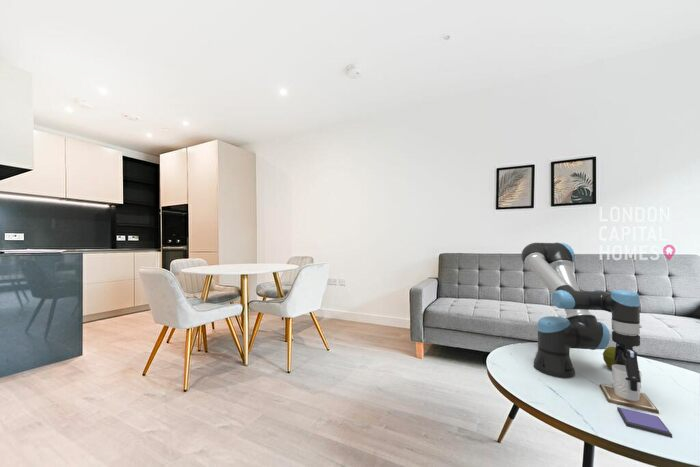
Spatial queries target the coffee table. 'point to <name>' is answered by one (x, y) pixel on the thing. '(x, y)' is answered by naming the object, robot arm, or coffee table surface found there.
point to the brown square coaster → (642, 404)
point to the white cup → (622, 381)
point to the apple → (609, 356)
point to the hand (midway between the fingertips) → (626, 390)
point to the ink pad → (644, 422)
